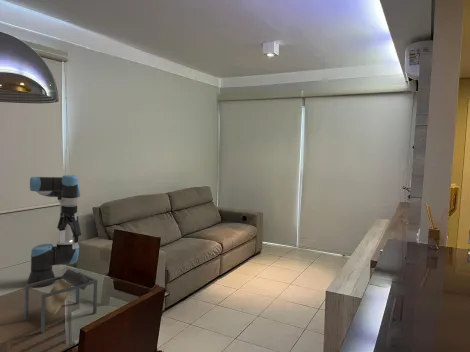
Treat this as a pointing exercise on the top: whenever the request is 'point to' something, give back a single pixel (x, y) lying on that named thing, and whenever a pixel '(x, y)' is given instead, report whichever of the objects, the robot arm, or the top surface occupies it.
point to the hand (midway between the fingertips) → (68, 245)
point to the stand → (92, 281)
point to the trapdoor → (57, 300)
